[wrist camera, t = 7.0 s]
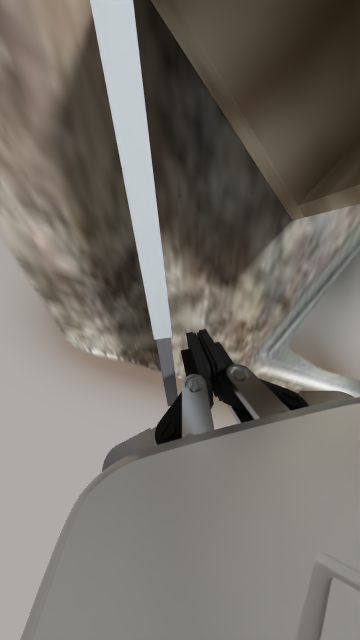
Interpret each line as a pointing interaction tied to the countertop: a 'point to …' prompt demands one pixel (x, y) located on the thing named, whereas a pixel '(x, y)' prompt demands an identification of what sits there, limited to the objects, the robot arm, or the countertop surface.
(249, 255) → the countertop surface
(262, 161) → the cabinet
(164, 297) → the door
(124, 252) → the countertop surface
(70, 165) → the countertop surface
